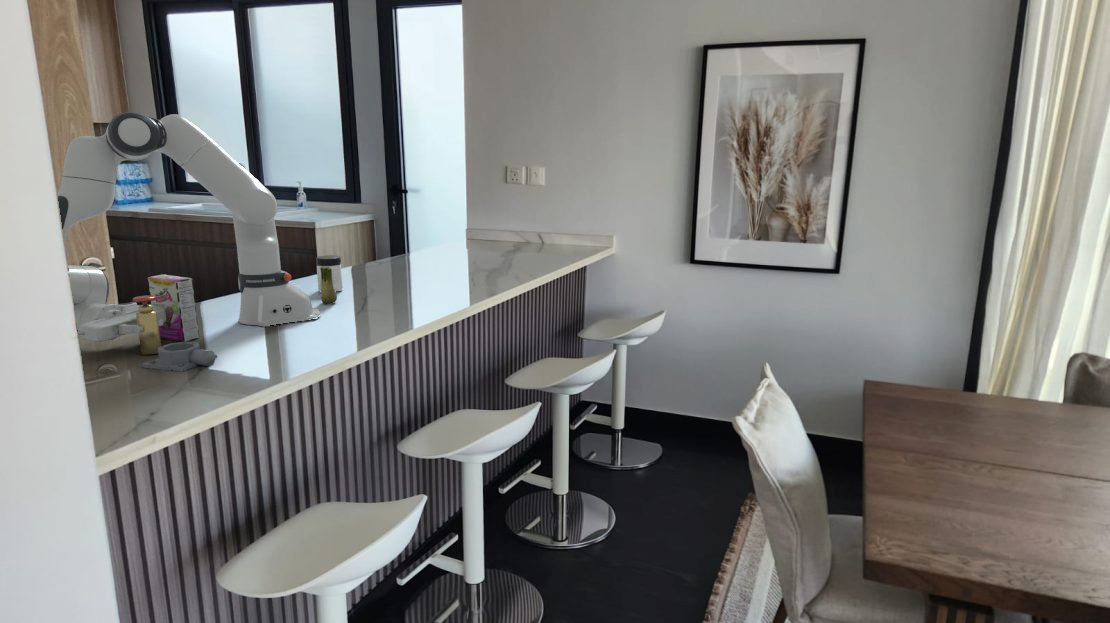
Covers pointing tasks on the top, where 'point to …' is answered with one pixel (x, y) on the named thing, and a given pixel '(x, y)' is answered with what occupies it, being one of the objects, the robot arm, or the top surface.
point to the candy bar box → (175, 306)
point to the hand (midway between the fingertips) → (151, 326)
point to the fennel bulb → (327, 286)
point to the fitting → (181, 357)
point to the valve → (148, 325)
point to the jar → (335, 265)
